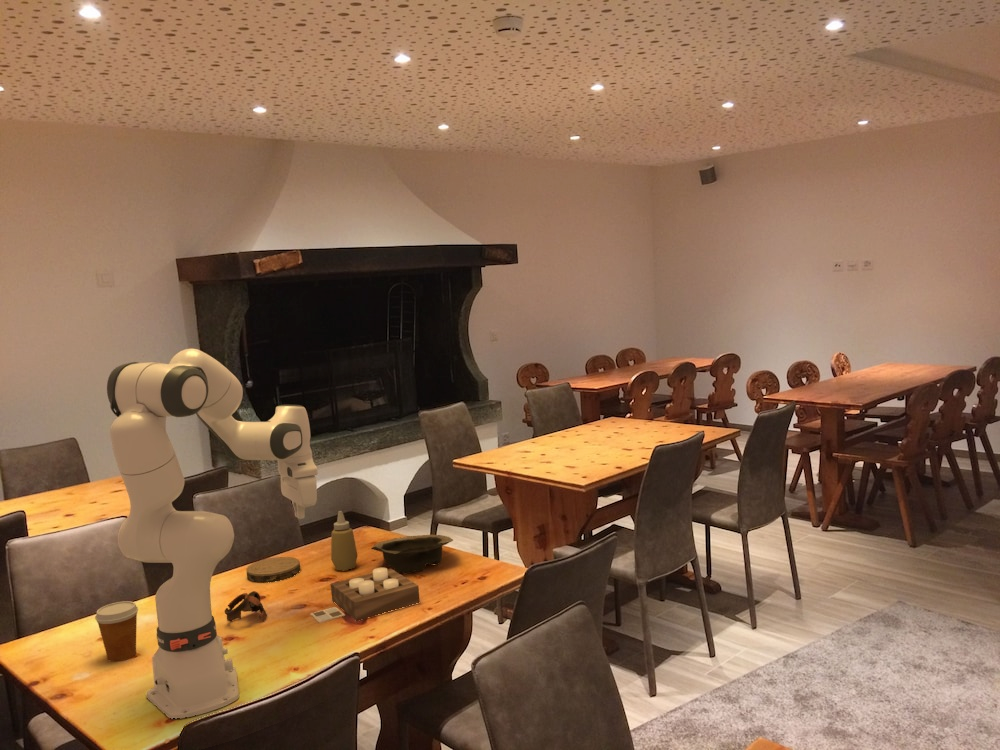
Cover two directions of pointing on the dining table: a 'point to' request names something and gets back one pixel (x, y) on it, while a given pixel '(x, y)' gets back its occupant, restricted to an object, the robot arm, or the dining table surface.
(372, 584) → the button front inner
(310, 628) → the dining table surface
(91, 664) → the dining table surface
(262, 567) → the brown wooden disc
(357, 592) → the button board
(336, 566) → the squeeze bottle
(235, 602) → the pottery mug
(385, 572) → the beige egg
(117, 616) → the disposable coffee cup
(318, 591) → the dining table surface
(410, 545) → the stone bowl
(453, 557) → the dining table surface
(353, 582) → the egg
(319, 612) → the tile
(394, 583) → the button front outer
